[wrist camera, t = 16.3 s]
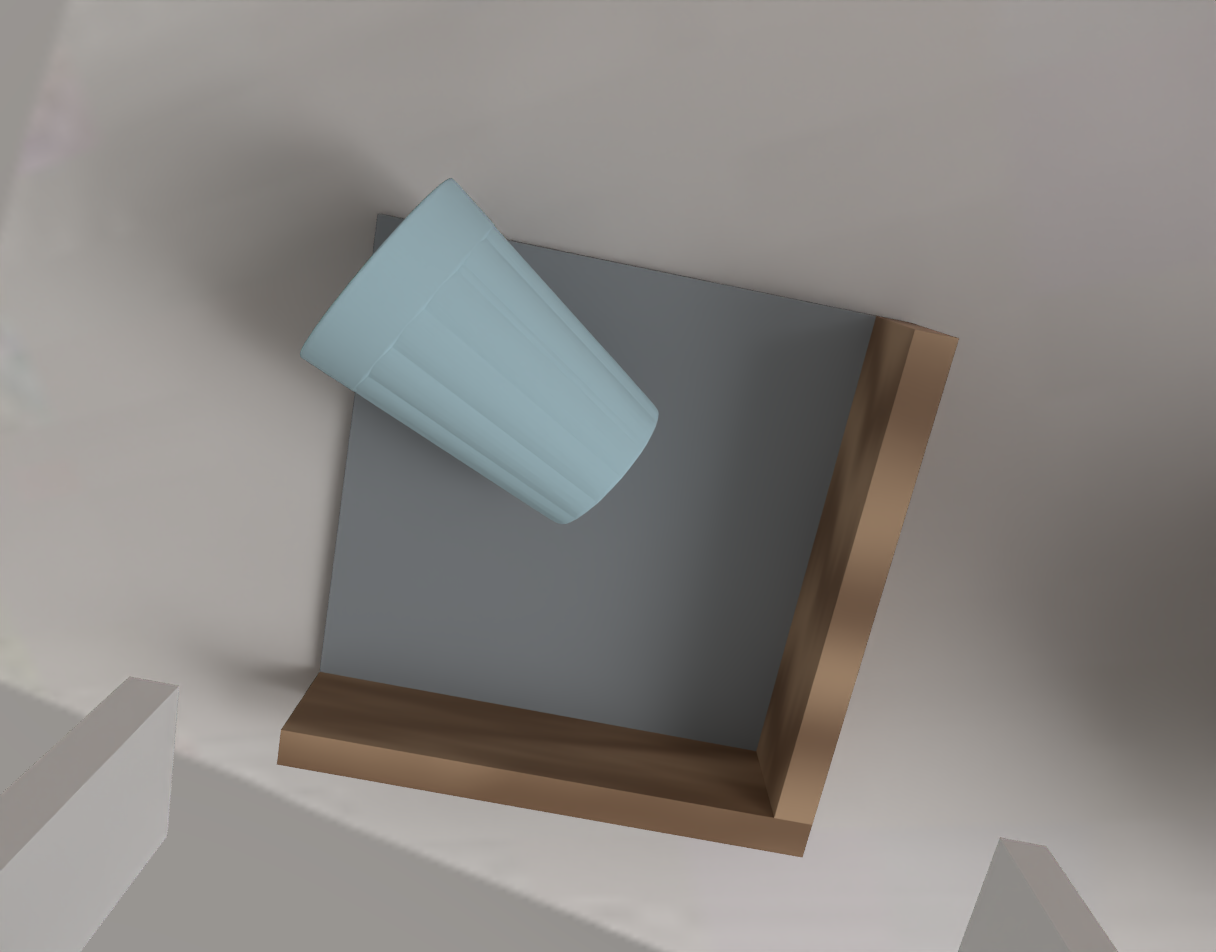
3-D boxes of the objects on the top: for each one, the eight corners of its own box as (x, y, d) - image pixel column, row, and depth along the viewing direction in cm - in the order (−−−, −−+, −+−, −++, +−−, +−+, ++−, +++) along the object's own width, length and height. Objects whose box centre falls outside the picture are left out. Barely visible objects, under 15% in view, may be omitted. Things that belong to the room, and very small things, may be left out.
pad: (380, 214, 34) (377, 213, 33) (873, 315, 35) (876, 315, 34) (322, 667, 39) (319, 671, 38) (754, 746, 40) (756, 751, 39)
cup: (518, 537, 36) (302, 361, 33) (638, 389, 37) (437, 208, 34) (565, 566, 28) (292, 344, 26) (712, 381, 29) (465, 149, 27)
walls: (380, 214, 34) (341, 211, 29) (911, 322, 35) (958, 338, 30) (318, 697, 39) (277, 764, 34) (779, 781, 40) (802, 857, 35)
